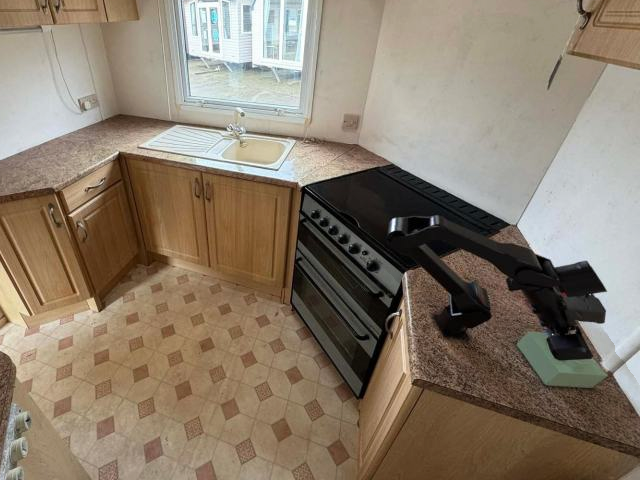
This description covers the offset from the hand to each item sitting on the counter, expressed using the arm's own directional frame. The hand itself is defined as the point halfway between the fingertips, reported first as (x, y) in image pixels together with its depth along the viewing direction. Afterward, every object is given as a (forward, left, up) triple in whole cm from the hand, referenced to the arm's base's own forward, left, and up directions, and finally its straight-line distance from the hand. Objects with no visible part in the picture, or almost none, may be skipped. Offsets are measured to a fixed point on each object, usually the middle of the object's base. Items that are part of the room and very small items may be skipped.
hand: (572, 346), depth 72 cm
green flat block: (0, 0, -8) cm, 8 cm away
